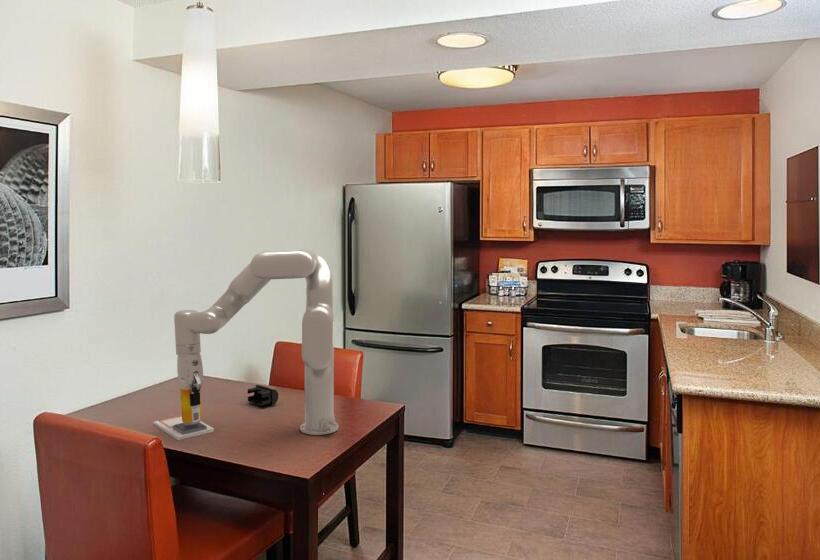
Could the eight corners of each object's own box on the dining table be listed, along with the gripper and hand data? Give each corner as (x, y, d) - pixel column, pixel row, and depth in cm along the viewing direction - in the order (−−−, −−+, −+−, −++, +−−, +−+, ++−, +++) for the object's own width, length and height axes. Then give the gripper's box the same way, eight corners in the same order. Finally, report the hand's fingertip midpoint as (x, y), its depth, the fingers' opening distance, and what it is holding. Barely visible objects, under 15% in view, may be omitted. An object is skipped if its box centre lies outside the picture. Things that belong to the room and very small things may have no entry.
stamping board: (214, 431, 200) (213, 424, 200) (177, 440, 192) (177, 433, 192) (188, 417, 215) (188, 410, 215) (153, 424, 207) (153, 417, 207)
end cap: (278, 405, 230) (278, 387, 229) (263, 409, 224) (263, 391, 224) (262, 400, 236) (262, 383, 236) (247, 404, 231) (246, 386, 230)
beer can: (194, 417, 204) (191, 373, 202) (205, 421, 200) (203, 376, 199) (178, 423, 199) (175, 377, 198) (189, 426, 196) (187, 380, 194)
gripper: (211, 350, 194) (213, 406, 195) (188, 343, 206) (190, 395, 208) (188, 354, 189) (190, 411, 190) (166, 346, 201) (168, 400, 203)
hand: (190, 402), depth 199 cm, fingers closed on beer can, 6 cm apart
